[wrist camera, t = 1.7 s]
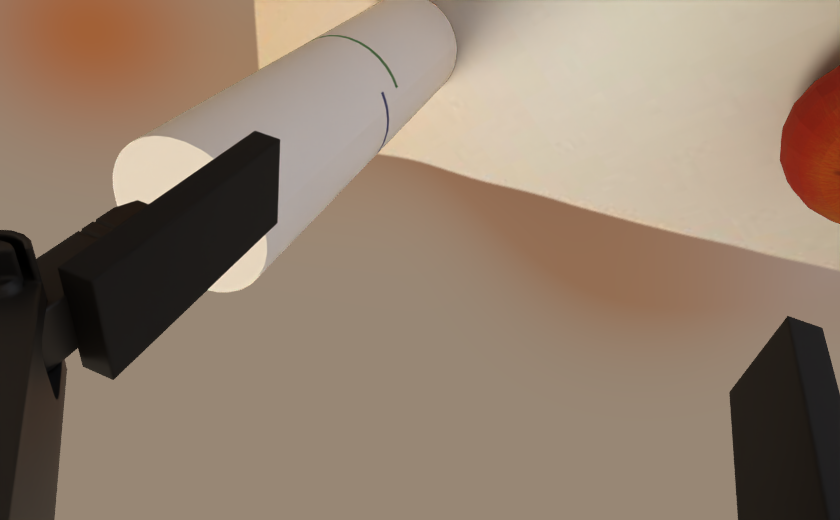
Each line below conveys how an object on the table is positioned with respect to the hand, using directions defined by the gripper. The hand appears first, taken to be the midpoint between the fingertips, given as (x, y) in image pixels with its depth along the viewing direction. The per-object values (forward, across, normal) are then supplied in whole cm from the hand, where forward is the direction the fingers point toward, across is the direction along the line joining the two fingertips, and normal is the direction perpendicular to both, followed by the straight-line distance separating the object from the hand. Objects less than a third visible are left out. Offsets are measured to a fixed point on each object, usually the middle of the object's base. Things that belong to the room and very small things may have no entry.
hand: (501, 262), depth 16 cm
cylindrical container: (+29, -13, -6) cm, 32 cm away
